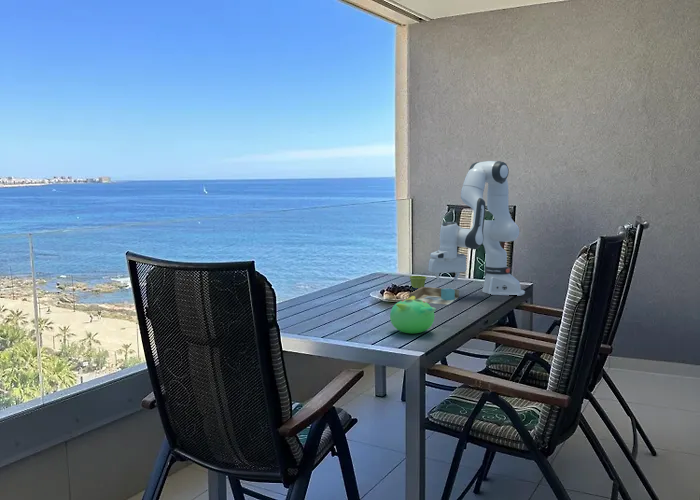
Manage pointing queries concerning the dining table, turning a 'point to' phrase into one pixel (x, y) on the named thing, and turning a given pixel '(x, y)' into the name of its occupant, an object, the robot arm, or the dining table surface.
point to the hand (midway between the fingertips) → (447, 281)
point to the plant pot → (417, 281)
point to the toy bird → (412, 315)
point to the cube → (448, 294)
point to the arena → (432, 295)
